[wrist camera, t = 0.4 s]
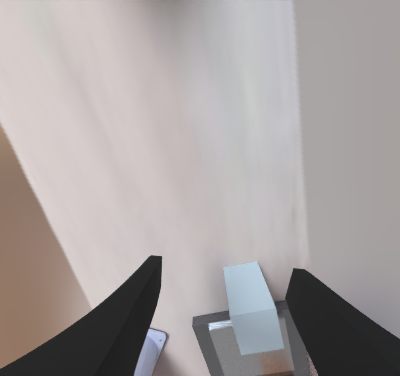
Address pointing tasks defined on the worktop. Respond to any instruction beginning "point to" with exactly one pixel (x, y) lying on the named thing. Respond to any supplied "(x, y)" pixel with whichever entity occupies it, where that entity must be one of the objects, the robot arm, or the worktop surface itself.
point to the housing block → (252, 309)
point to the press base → (257, 362)
